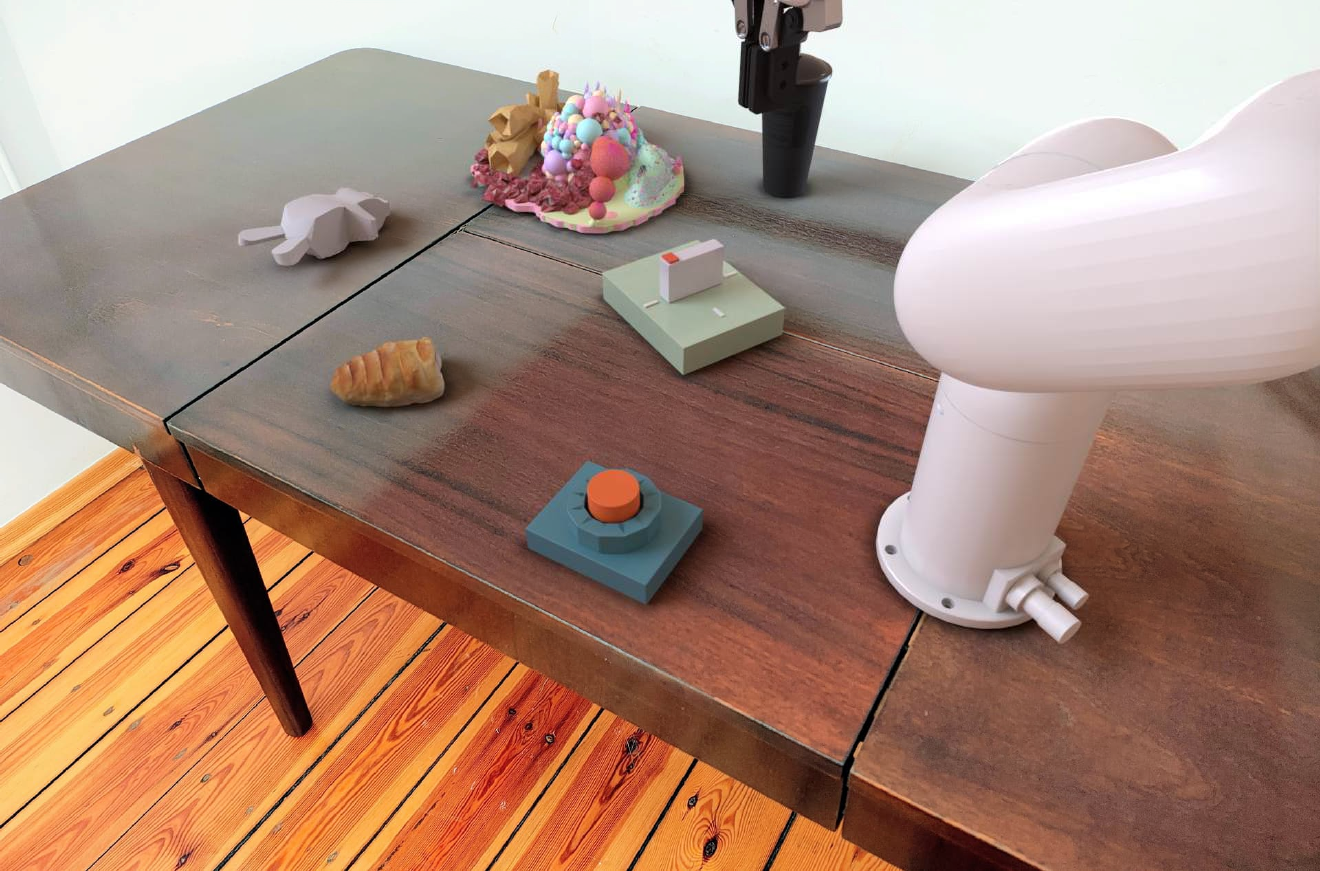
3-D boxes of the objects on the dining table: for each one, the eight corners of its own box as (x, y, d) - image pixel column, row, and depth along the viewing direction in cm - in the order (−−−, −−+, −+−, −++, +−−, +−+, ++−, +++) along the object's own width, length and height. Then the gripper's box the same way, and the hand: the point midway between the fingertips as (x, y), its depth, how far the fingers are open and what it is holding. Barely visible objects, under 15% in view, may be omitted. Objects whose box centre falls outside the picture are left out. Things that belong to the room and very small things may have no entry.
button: (649, 498, 66) (649, 480, 65) (622, 531, 64) (621, 514, 62) (606, 479, 67) (605, 462, 66) (578, 511, 65) (576, 494, 64)
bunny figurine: (405, 194, 97) (284, 241, 87) (410, 239, 100) (294, 289, 90) (344, 170, 101) (222, 212, 91) (351, 214, 104) (233, 259, 94)
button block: (702, 529, 68) (704, 491, 66) (646, 605, 63) (645, 568, 61) (589, 480, 72) (586, 442, 69) (527, 548, 67) (522, 511, 64)
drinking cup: (829, 182, 107) (853, -1, 94) (799, 210, 102) (820, 23, 89) (770, 166, 110) (784, -14, 97) (738, 192, 106) (749, 8, 92)
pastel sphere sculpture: (434, 198, 105) (419, 119, 98) (541, 117, 120) (535, 44, 114) (633, 248, 97) (630, 166, 91) (720, 155, 112) (723, 78, 106)
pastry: (337, 423, 77) (326, 388, 75) (332, 375, 82) (321, 340, 79) (451, 400, 79) (443, 364, 77) (439, 354, 84) (432, 319, 81)
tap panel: (782, 334, 86) (785, 306, 84) (683, 375, 82) (683, 346, 79) (697, 265, 95) (697, 237, 92) (603, 298, 90) (601, 271, 88)
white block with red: (712, 275, 88) (714, 235, 85) (722, 283, 87) (724, 243, 84) (659, 295, 85) (658, 255, 82) (668, 303, 84) (668, 263, 81)
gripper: (959, -246, 43) (892, 135, 55) (761, -277, 52) (743, 55, 64) (833, -231, 40) (793, 167, 52) (647, -267, 49) (651, 79, 62)
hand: (765, 104), depth 58 cm, fingers closed
